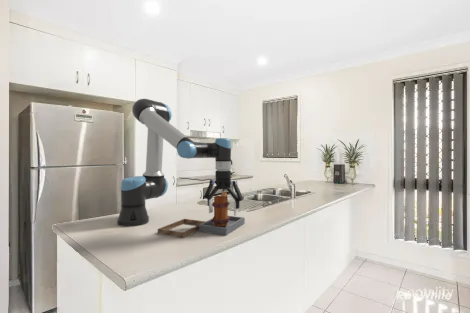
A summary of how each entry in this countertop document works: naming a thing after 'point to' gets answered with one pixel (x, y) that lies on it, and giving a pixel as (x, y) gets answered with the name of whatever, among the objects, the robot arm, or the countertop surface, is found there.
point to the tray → (232, 225)
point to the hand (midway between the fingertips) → (223, 214)
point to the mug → (221, 210)
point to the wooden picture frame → (167, 231)
